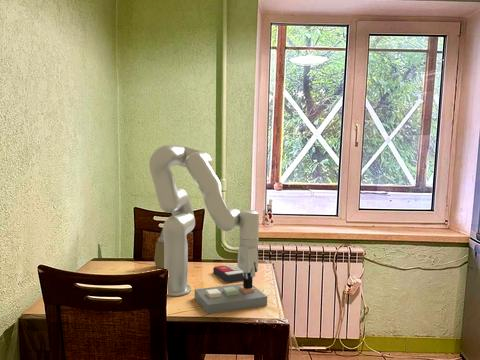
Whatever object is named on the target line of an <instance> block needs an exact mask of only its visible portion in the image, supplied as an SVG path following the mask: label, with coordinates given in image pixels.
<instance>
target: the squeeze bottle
mask: <svg viewBox="0 0 480 360" xmlns="http://www.w3.org/2000/svg"><path fill="white" fill-rule="evenodd" d="M153 257H154V258H153V261H154V264H155V268H157V269H159V270H160V269H161V270H162V268H164V237H163V230H161V231H160V236H159V237H158V238H157V242H156V243H155V250H154V256H153Z"/></svg>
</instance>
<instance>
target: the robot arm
mask: <svg viewBox="0 0 480 360" xmlns="http://www.w3.org/2000/svg"><path fill="white" fill-rule="evenodd" d="M148 165H149V166H148V167H149V172H150V175H151V178H152V182H153V186H154V190H155V193H156V198H157V202H158V205H159V207H160V209H161V211H163V212H165V213H167V214H168V213H171V216H168V217H167V218H166V220H165V221H164V222H163V225H162V231H163V237H164V269H168V271H169V277H168V295H167V296H169V297H178V296H179V297H180V296H184V295H188V294H190V293H191V292H192V288H191V286H190V285H189V284H188V269H189V268H188V267H189V266H188V261H189V260H188V259H189V257H188V255H189V253H188V251H189V246H188V245H189V243H188V239H187V238H188V237H187V235H188V234H189V233H191V232H192V231H193V230H194V228H195V226H196V218H195V214H194V209H193V207H192V206H193V205H192V203H191V199H190V197H189V194H188V192H187V191H186V190H185V189H184V188H182V187H179V186H177V183H176V180H175V176H174V174H173V172H172V170H171V167H172V166H180V167H183V168H186V169H187V171H188V174H190V176H191V177H192V179H193V181H194V183H195V184H196V186H197V187H198V190H199V191H200V193H201V194H202V198H203V201H204V202H203V203H204V204H205V207H206V210H207V212H208V213H209V215H210V217H211V219H212V221H213V222H214V224H215V225H216V227H217V228H218V229H219V230H220V231H223V232H230V231H232V230H233V229H235V228H237V227H239V228H238V229H239V232H238V236H239V237H238V250H237V251H238V252H237V264H236V266H238V268H239V269H241V270H242V271H243V277H245V278H243V283H242V284H243V287H244V288H245V289H248V288H252V285H253V279H254V277H256V273H257V272H258V270H259V253H258V251H259V250H258V247H259V228H260V226H259V224H260V223H259V222H260V213H259V212H258V211H256V210H250V209H249V210H248V209H245V210H243V209H239V208H228V206H227V204H226V202H225V200H224V198H223V193H222V183H221V181H220V179H219V177H218V175H217V174H216V173H215V171H214V169H213V167H212V165H213V159H212V158H211V155H210V154H208V152H206V151H205V152H204V151H202V150H198V149H194V148H192V147H188V146H184V145H180V144H166V145H162V146H159V147H158V148H157V149H155V150H154V152H153V153H152V154H151V155H150V158H149V164H148ZM164 269H163V270H164Z"/></svg>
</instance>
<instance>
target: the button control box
mask: <svg viewBox="0 0 480 360" xmlns="http://www.w3.org/2000/svg"><path fill="white" fill-rule="evenodd" d="M212 270H213V272H212V273H213V274H214V275H215V276H217V277H219V278H220V279H221V280H222V281H224V282H225V283H227V284H231V283H235V282H236V283H238V282H242V281H243V278H245V277H243V271H242V270H241V269H239V268H238V266H237V264H233V263H231V264H225V265H216V266H214V267H213V269H212Z"/></svg>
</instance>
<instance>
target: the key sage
mask: <svg viewBox="0 0 480 360" xmlns="http://www.w3.org/2000/svg"><path fill="white" fill-rule="evenodd" d="M223 293H224V294H225V295H226V296H231V295H238V290H237V289H236V288H235V287H227V288H223Z"/></svg>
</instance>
